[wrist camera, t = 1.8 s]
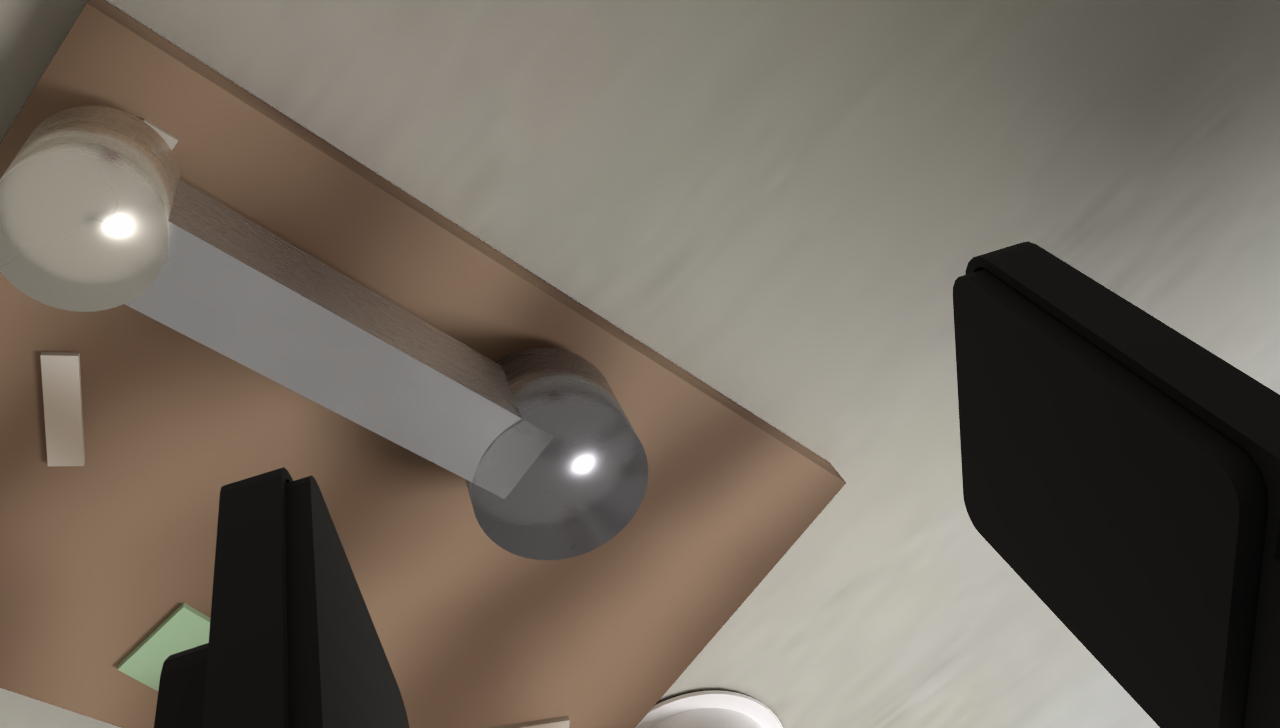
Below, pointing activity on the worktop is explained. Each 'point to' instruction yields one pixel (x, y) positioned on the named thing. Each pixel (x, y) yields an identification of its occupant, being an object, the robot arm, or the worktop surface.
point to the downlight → (710, 712)
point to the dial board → (347, 450)
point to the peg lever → (318, 332)
